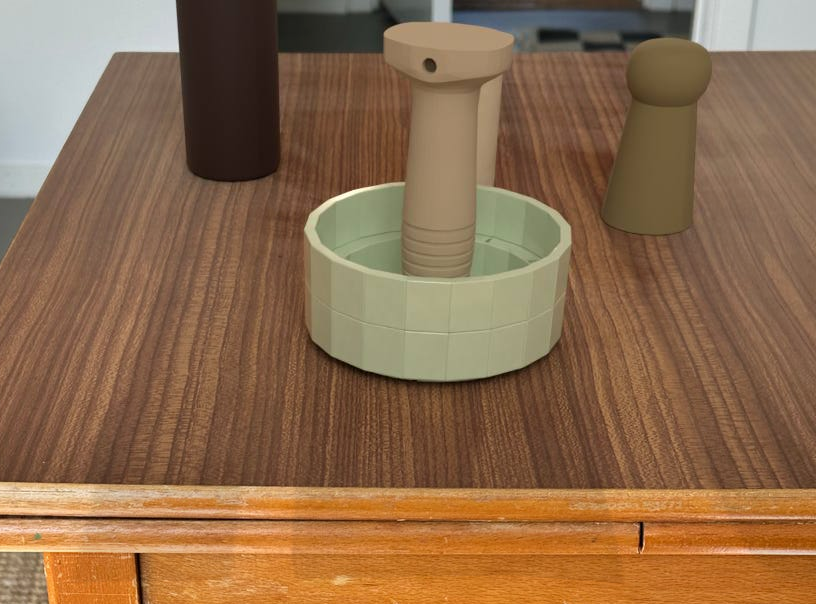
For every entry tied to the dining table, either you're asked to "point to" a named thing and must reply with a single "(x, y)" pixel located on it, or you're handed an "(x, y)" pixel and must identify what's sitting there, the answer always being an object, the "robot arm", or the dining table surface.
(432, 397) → the dining table surface
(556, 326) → the bowl
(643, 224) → the olive brown knobbed cone
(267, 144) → the bottle
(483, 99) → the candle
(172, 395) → the dining table surface
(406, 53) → the handle
